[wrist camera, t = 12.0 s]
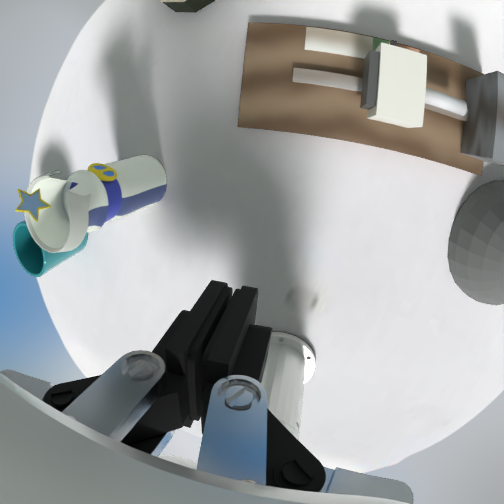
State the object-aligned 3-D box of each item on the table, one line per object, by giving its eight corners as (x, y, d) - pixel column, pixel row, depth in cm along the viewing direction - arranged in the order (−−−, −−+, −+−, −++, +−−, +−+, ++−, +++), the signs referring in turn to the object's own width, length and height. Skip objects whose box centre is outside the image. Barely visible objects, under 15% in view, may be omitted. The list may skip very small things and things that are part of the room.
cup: (82, 184, 43) (33, 201, 33) (93, 252, 47) (51, 280, 37) (50, 188, 45) (4, 204, 34) (61, 250, 49) (20, 274, 39)
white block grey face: (451, 140, 28) (470, 142, 23) (358, 116, 30) (366, 113, 25) (456, 62, 24) (474, 54, 19) (364, 35, 26) (372, 20, 21)
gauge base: (474, 173, 31) (514, 186, 22) (241, 127, 36) (217, 124, 27) (482, 78, 26) (522, 69, 17) (251, 27, 30) (232, -3, 21)
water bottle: (131, 141, 39) (-18, 168, 16) (177, 168, 39) (33, 217, 16) (112, 189, 42) (-22, 246, 19) (155, 217, 43) (26, 299, 20)
